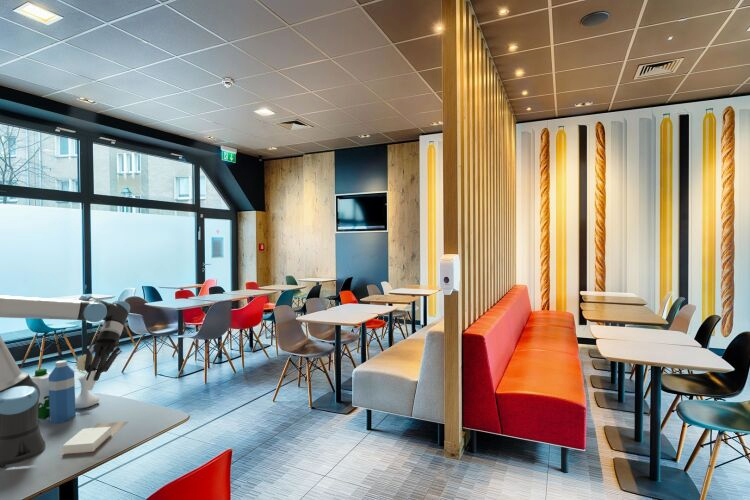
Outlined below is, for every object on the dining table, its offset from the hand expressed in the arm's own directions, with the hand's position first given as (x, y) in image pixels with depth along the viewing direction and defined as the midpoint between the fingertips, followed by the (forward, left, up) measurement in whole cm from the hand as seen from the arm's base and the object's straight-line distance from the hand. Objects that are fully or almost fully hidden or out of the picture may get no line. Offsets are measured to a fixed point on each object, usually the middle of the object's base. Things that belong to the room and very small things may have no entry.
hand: (88, 388), depth 151 cm
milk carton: (-35, +31, -22) cm, 52 cm away
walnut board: (0, +4, -21) cm, 22 cm away
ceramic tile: (0, +5, -19) cm, 20 cm away
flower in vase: (-23, +39, -22) cm, 50 cm away
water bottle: (-25, +26, -22) cm, 42 cm away
